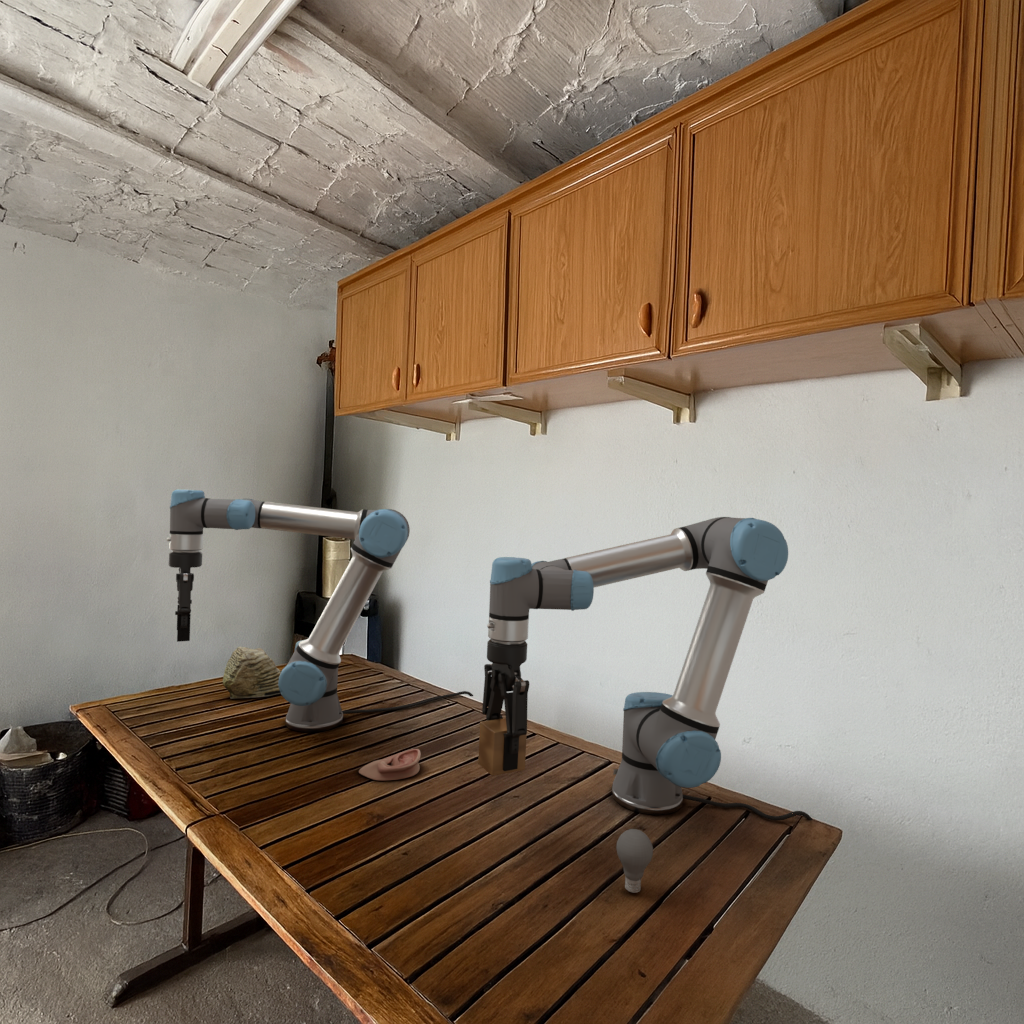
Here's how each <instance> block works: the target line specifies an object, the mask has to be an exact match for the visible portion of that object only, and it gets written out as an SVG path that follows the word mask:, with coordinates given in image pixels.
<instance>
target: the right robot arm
mask: <svg viewBox="0 0 1024 1024" xmlns="http://www.w3.org/2000/svg"><path fill="white" fill-rule="evenodd" d="M788 559H789V545H788V542H787V540H786V538H785V536H784V534H783V532H782V531H781V530H780V529H779V528H778V527H777V526H776V525H775V524H774V523H771V522H769V521H767V520H763V519H759V518H754V517H731V516H717V517H713V518H709V519H706V520H702V521H700V522H696V523H691V524H688V525H684V526H681V527H676V528H674V529H673V530H672V531H671V532H670V534H666V535H662V536H661V535H660V536H656V537H651V538H648V539H644V540H643V539H642V540H640V541H635V542H631V543H630V542H629V543H625V544H621V545H617V546H612V547H608V548H603V549H598V550H594V551H590V552H585V553H582V554H577V555H573V556H572V555H571V556H568V557H564V558H559V559H554V560H549V561H547V560H537V561H534V562H532V561H531V560H530V559H529V558H525V557H514V556H499V557H497V558H495V559H494V560H493V561H492V564H491V573H490V580H489V605H488V606H489V607H488V623H487V624H486V626H487V631H488V632H487V637H488V638H489V639H488V641H487V645H486V659H487V661H488V662H490V663H486V664H484V667H483V668H484V669H483V671H484V682H483V683H484V684H483V696H482V707H481V713H482V715H485V719H486V721H489V720H496V719H503V718H504V716H503V715H502V710H503V706H504V714H505V718H506V726H507V733H504V754H503V770H504V771H509V770H514V769H517V768H518V751H519V737H520V736H521V735H526V734H528V700H529V699H528V698H529V697H528V695H529V690H530V681H529V680H527V679H526V680H524V679H523V678H522V672H521V665H522V664H524V663H526V662H527V659H528V642H527V639H529V621H530V610H559V611H560V610H564V611H565V610H566V611H571V612H574V611H578V610H587V609H589V608H590V607H591V605H592V604H593V600H594V591H595V588H599V587H602V586H607V585H612V584H616V583H621V582H624V581H629V580H633V579H637V578H641V577H645V576H650V575H654V574H659V573H663V572H666V571H667V572H668V571H671V570H672V571H673V570H676V569H680V570H682V571H683V572H688V571H692V570H700V569H705V570H706V572H705V576H706V577H707V580H708V581H709V587H708V590H707V593H706V597H705V599H704V601H703V605H702V607H701V611H700V615H699V617H698V620H697V622H696V626H695V629H694V632H693V635H692V638H691V641H690V644H689V646H688V650H687V653H686V656H685V659H684V660H683V661H684V662H683V664H682V668H681V670H680V674H679V677H678V679H677V682H676V686H675V688H674V692H673V694H669V693H666V692H665V693H664V692H658V691H657V692H655V691H636V692H631V693H629V694H628V695H627V696H626V697H625V699H624V706H623V709H622V711H623V719H622V720H623V721H622V723H623V724H622V746H621V747H622V748H621V760H620V763H619V766H618V768H615V769H613V773H612V774H613V775H614V776H615V777H614V779H613V781H612V786H611V796H612V799H613V800H614V801H615V802H616V803H617V804H619V805H620V806H621V807H624V808H626V809H628V810H630V811H633V812H636V813H640V814H646V815H654V816H655V815H656V816H657V815H658V816H659V815H669V814H673V813H675V812H678V811H679V810H680V809H681V808H682V807H683V805H684V804H683V803H684V801H683V800H688V801H692V802H697V803H701V804H705V805H710V806H713V807H717V808H724V809H725V808H727V809H731V808H743V809H747V810H749V811H752V812H753V813H755V814H757V815H758V816H759V817H761V818H763V819H766V820H768V821H769V820H770V821H775V822H779V821H784V820H788V819H791V818H794V817H797V816H800V817H803V818H805V819H806V820H808V821H813V819H814V818H812V816H811V815H809V814H808V813H807V812H806V811H803V810H795V811H791V812H788V813H785V814H782V815H771V814H767V813H764V812H763V811H761V810H759V809H758V808H757V807H755V806H754V805H750V804H747V803H743V802H727V803H726V802H723V803H722V802H719V801H714V800H710V799H706V798H702V797H697V796H692V795H687V794H683V790H682V788H685V789H692V788H693V789H694V788H698V787H700V786H702V785H703V784H706V783H708V782H709V781H711V779H712V778H714V776H715V775H716V774H717V772H718V770H719V768H720V766H721V761H722V752H721V749H720V746H719V743H718V741H717V735H718V732H719V730H720V726H721V723H720V721H719V719H718V716H717V715H716V713H717V710H718V707H719V703H720V701H721V697H722V695H723V692H724V688H725V685H726V683H727V680H728V677H729V673H730V670H731V667H732V665H733V661H734V659H735V655H736V653H737V649H738V646H739V643H740V640H741V637H742V635H743V631H744V628H745V625H746V622H747V619H748V616H749V613H750V610H751V607H752V604H753V601H754V599H755V598H756V597H758V596H761V595H764V594H765V591H766V589H767V585H768V582H769V581H770V580H773V579H775V578H776V577H777V576H779V575H781V574H782V572H783V571H784V570H785V568H786V566H787V564H788ZM792 813H793V814H792ZM795 814H796V815H797V816H796V815H795Z"/></svg>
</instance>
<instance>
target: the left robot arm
mask: <svg viewBox="0 0 1024 1024" xmlns="http://www.w3.org/2000/svg"><path fill="white" fill-rule="evenodd" d="M170 495H171V496H170V505H169V537H167V538H166V542H169V545H168V546H169V547H168V548H169V550H170V551H169V553H168V566H169V567H170V568H174V569H177V568H178V573H176V574H175V581H176V591H177V592H178V593H177V594H178V596H177V609H176V610H175V612H174V615H175V616H176V633H177V634H176V642H178V643H179V642H191V641H190V640H191V613H192V608H191V605H192V604H193V599H192V591H193V590H194V588H193V587H194V582H195V574H194V573H192V572H191V569H192V568H200V567H202V565H203V552H202V550H203V549H204V529H221V530H222V529H223V530H234V531H238V530H241V531H242V530H250V529H263V530H271V531H278V532H279V531H281V532H289V533H298V534H306V535H315V536H323V537H331V538H339V539H350V540H354V541H353V543H352V544H351V546H350V551H351V556H352V557H351V559H350V561H349V562H348V564H347V566H346V568H345V570H344V572H343V574H342V576H341V577H340V579H339V581H338V583H337V585H336V586H335V589H333V590H334V591H333V592H332V594H331V596H330V598H329V600H328V602H327V604H326V605H325V607H324V608H323V611H322V613H321V615H320V617H318V620H317V622H316V624H315V626H314V628H313V629H312V631H311V633H310V634H309V637H308V638H307V639H303V640H302V639H301V640H298V641H297V642H296V643H295V648H294V652H293V654H292V655H291V657H290V659H289V660H288V663H287V665H285V666H284V667H283V668H282V669H281V670H280V672H281V673H280V677H279V681H278V686H279V690H280V695H281V696H282V697H283V699H284V701H287V702H288V703H289V708H288V711H287V713H286V715H285V726H286V728H287V729H289V730H291V731H294V732H295V731H296V732H301V733H316V732H325V731H329V730H332V729H335V728H337V727H339V726H340V725H342V723H343V722H344V715H350V714H351V715H352V714H369V713H381V712H389V711H398V710H403V709H409V708H414V707H418V706H421V705H425V704H427V703H431V702H434V701H438V700H443V699H446V698H453V697H458V696H461V695H467V696H469V697H474V694H473V693H471V691H467V690H463V691H458V692H455V693H448V694H443V695H438V696H435V697H431V698H428V699H425V700H421V701H418V702H414V703H413V702H412V703H409V704H404V705H397V706H389V707H381V708H369V709H367V708H366V709H350V710H343V709H342V706H341V702H340V699H339V695H338V682H339V681H338V680H339V678H338V677H339V666H340V664H341V662H342V659H341V656H340V652H341V650H342V648H343V646H344V645H345V643H346V641H347V639H348V637H349V635H350V634H351V631H352V630H353V628H354V626H355V624H356V622H357V620H358V618H359V616H360V615H361V613H362V611H363V610H364V607H365V605H366V604H367V602H368V600H369V598H370V596H371V595H372V592H373V591H374V589H375V587H376V585H377V583H378V581H379V580H380V578H381V576H382V574H383V572H385V571H389V570H391V569H392V568H393V566H394V564H395V562H396V561H397V558H398V556H399V555H400V553H401V551H402V549H403V548H404V546H405V545H406V543H407V542H408V539H409V537H410V529H411V528H410V525H409V521H408V519H407V518H406V516H405V515H404V514H403V513H402V512H400V511H398V510H395V509H391V508H384V509H383V508H381V509H365V508H362V509H360V510H359V511H352V510H343V509H342V510H341V509H333V508H326V507H316V506H308V505H299V504H291V503H290V504H289V503H283V502H273V501H263V500H258V499H257V500H256V499H252V498H241V499H240V498H208V497H206V496H205V491H203V490H200V489H174V490H173V491H172V492H171V494H170Z"/></svg>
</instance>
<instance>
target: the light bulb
mask: <svg viewBox="0 0 1024 1024" xmlns="http://www.w3.org/2000/svg"><path fill="white" fill-rule="evenodd" d="M615 849H616V854H617V857H618V859H619V861H620V863H621V865H622V867H623V873H624V874H623V875H624V876H625V878H624V888H625V890H627V891H628V892H630V893H634V894H635V893H639V892H640V891H641V889H642V887H641V886H642V879H643V877H644V875H645V871H646V868H647V867H648V866H649V864H650V863H651V861H652V859H653V855H654V847H653V843H652V841H651V838H649V836H648V835H647V834H646V833H645V832H643V831H642V830H641V829H636V828H629V829H627V830H625V831H623V832H622V833H621V834H620V835H619V837H618V839H617V841H616V847H615Z"/></svg>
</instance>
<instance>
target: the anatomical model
mask: <svg viewBox="0 0 1024 1024" xmlns="http://www.w3.org/2000/svg"><path fill="white" fill-rule="evenodd" d="M421 756H422V754H421V750H420V749H419V748H412V749H408V750H404V751H402V752H398V753H396V754H393V755H391V756H388V757H384V758H382V759H377V760H373V761H371V762H369V763H367V764H365V765H363V766H362V767H361V768H360V769H359V770H358V773H359V774H360V775H361V776H363V777H366V778H368V779H371V780H373V781H379V782H380V781H381V782H382V781H397V780H403V779H407V778H410V777H413V776H415V775H417V774H418V773H419V771H420V768H421V766H420V763H419V762H420V760H421Z"/></svg>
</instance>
